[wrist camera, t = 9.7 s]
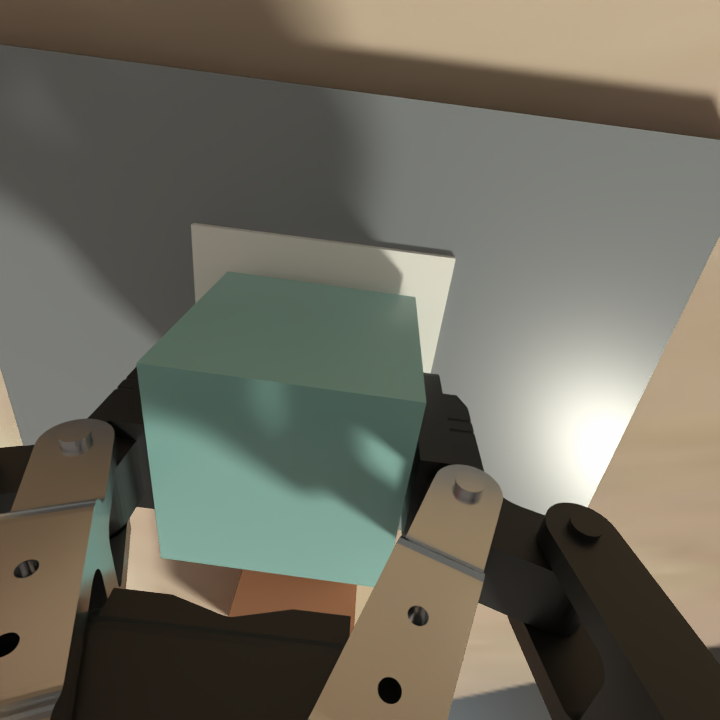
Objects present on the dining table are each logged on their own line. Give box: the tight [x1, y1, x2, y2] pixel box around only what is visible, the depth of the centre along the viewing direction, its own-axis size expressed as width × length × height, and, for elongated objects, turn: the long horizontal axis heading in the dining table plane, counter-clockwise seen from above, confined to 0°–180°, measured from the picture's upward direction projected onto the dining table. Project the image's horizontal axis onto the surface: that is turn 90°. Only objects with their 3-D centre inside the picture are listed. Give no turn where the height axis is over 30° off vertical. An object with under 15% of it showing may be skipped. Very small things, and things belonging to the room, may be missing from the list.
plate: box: [0, 44, 720, 530], centre depth 15 cm, size 14×20×1 cm
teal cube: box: [136, 271, 426, 587], centre depth 11 cm, size 5×5×5 cm
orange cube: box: [228, 569, 357, 635], centre depth 20 cm, size 5×5×5 cm
